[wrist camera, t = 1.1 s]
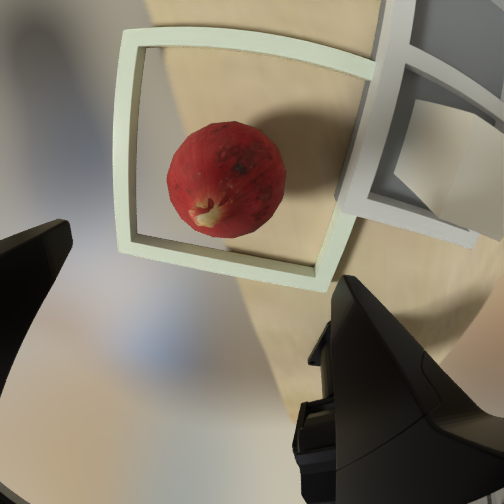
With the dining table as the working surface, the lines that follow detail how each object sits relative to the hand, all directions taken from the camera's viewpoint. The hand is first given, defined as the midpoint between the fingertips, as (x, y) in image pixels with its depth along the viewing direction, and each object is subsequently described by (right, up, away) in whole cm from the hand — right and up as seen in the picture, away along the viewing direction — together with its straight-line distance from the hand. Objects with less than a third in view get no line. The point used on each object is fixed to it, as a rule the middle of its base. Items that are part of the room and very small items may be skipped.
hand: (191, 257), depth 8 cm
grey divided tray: (+14, +11, +4) cm, 18 cm away
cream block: (+13, +7, +6) cm, 16 cm away
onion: (+1, +6, +9) cm, 11 cm away
